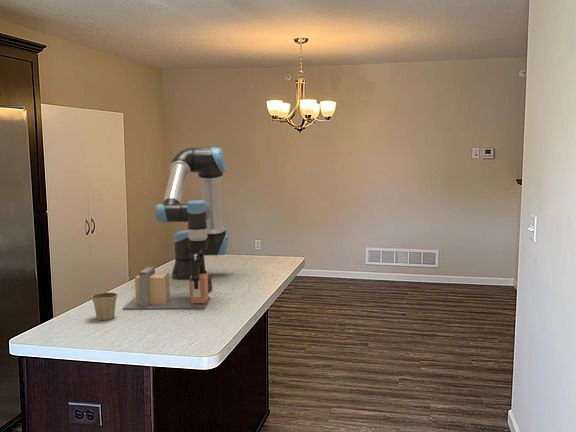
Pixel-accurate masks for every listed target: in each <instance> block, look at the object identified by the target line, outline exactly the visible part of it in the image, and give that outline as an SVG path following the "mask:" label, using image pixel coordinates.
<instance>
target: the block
mask: <svg viewBox="0 0 576 432" xmlns="http://www.w3.org/2000/svg"><path fill="white" fill-rule="evenodd" d="M208 274H209V273H206V274H200V276H199V280H200V297H193V281H191V279H192V275H191V277H190V279H189V295H190V296H189V297H190V303H206V302H207V300H208V297H209V293H208Z"/></svg>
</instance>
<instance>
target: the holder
mask: <svg viewBox="0 0 576 432" xmlns="http://www.w3.org/2000/svg"><path fill="white" fill-rule="evenodd" d="M134 285H135V286H134V287H135V297H133V298H132V299H131V300H130V301H129V302H128V303H127V304H125V305H124V306H123V307H122V311H141V310H142V311H155V310H156V311H157V310H159V311H163V310H170V311H171V310H178V311H179V310H205V309H206V308H207V305H208V304H209V302H210V300H211V296H208V300H207V302H206V303H190V296H184V297H183V296H181V297H180V296H177V297H176V296H175V297H173V296H172V297H171V291H170V273H156V267H155V266H146V267H145V268H144V269H142V270H141V271H140V272H138V275H137V276H135V277H134Z"/></svg>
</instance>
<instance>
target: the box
mask: <svg viewBox="0 0 576 432" xmlns="http://www.w3.org/2000/svg"><path fill="white" fill-rule="evenodd" d="M207 274H208V294H209V293H210V292H212V291H213V282H212V281H213V280H212V279H213V278H212V274H211V273H207Z"/></svg>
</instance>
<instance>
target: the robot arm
mask: <svg viewBox="0 0 576 432" xmlns="http://www.w3.org/2000/svg"><path fill="white" fill-rule="evenodd" d="M168 170H169V176H168V182H167V185H166V189H165V193H164V197H163V202H162V203H158V204H156V206H155V209H154V216H155V220H156V221H157V222H159V223H181V222H182V223H183V222H184V223H187V229H184V230H180V231H178V232H176V233H175V234H174V237H173V238H174V240H173V241H174V242H173V243H174V265H173V267H172V272H171V278H172V279H174V280H190V277H191V275H192V279H191V281H193V297H200V280H199V276H200V274H207V270H206V266H205V265H206V263H205V257H206V256H215V257H218V256H225V255H226V254H227V252H228V247H229V246H228V245H229V237H230V233H229V231H227V230H226V227H225V226H224V225H223V216H222V215H223V213H222V197H221V196H222V194H221V192H222V191H221V178H222V177H223V176H224V173H225V172H227V171H226V170H227V167H226V159H225V153H224V151H223V149H222V148H221V147H213V146H212V147H211V146H210V147H207V146H206V147H205V146H204V147H202V146H201V147H188V148H184V149H182V150H180V151H179V152H178V153H177V154H176V155H175V156H174V157H173V158H172V159H171V161H170V162H169V167H168ZM190 173H197V174H198V178H199V179H200V180H201V188H202V199H200V200H199V199H198V200H189V201H187V202H186V203H182V201H183V197H184V192H185V187H186V183H187V177H188V176H189V175H190Z"/></svg>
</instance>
